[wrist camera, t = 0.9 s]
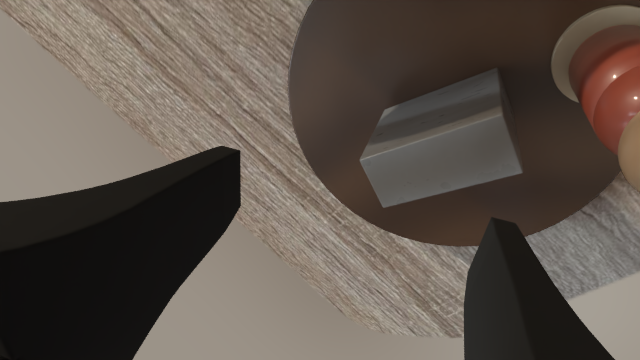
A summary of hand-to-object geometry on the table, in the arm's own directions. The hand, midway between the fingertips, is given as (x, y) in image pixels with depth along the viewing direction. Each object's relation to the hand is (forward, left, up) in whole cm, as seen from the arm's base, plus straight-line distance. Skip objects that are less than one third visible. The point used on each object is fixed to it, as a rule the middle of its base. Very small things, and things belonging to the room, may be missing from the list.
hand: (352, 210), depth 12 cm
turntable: (-1, -2, -10) cm, 10 cm away
